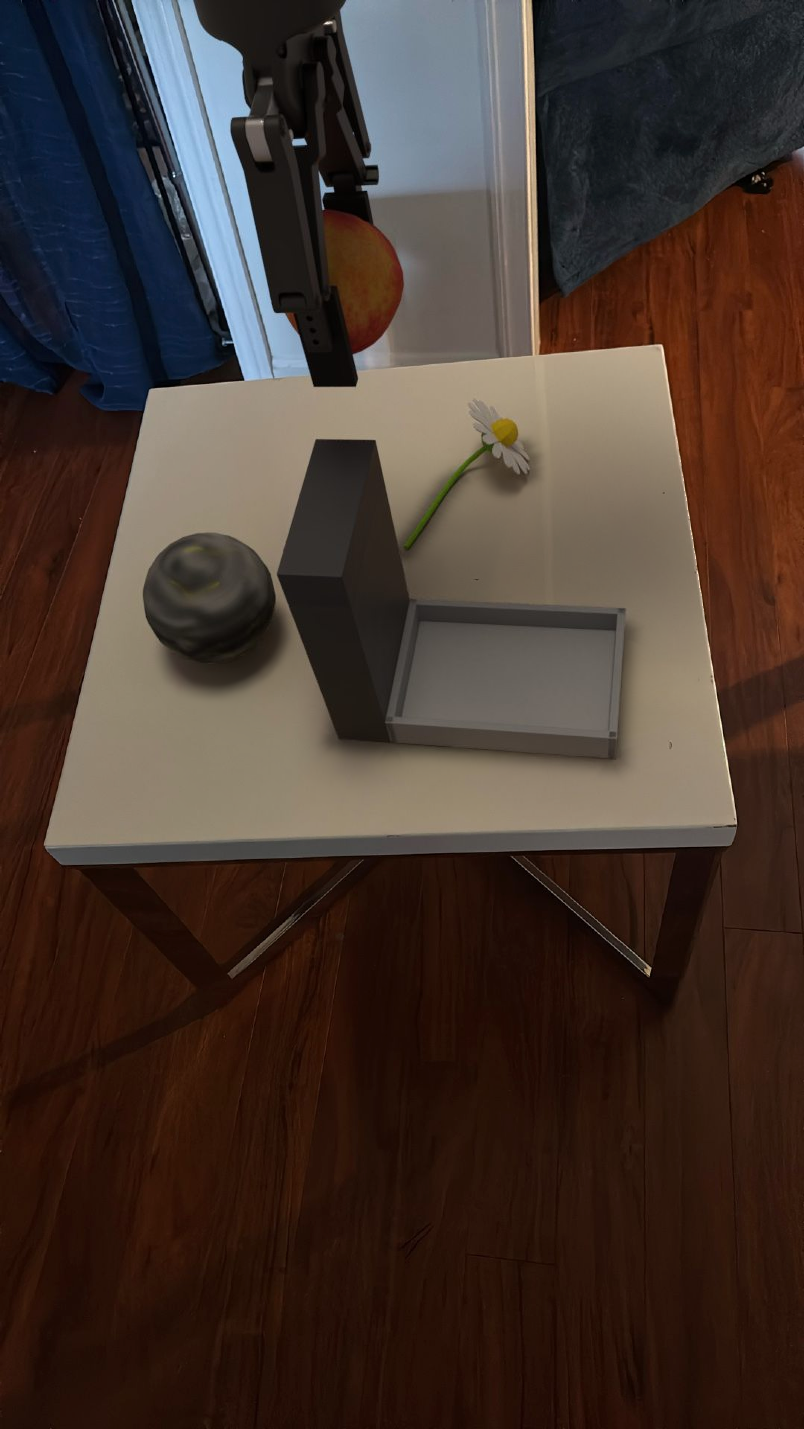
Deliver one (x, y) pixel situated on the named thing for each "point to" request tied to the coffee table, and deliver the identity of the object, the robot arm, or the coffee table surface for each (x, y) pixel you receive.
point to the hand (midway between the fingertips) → (350, 333)
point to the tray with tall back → (435, 635)
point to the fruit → (361, 276)
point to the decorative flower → (495, 440)
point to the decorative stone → (209, 598)
